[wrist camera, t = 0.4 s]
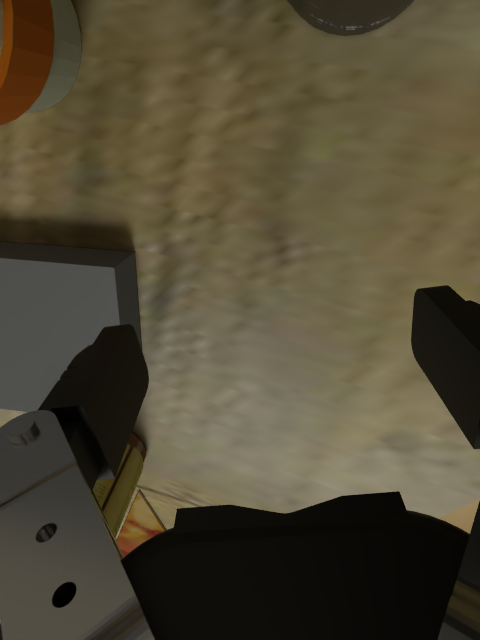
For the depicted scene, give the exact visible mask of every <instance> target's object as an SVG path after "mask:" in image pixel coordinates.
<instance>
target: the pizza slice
mask: <svg viewBox="0 0 480 640" xmlns="http://www.w3.org/2000/svg"><path fill="white" fill-rule="evenodd" d="M164 531H166V528H165V527H164V525H163V524H162V522H161V521H160V519H159V518H158V516H157V515H156V513H155V512H154V510H153V509H152V507H151V506H150V504H149V503H148V501H147V500H146V498H145V497H144V495H143V494H142V492H141V491H140V490H139V492H138V494H137V496H136V499H135V501H134V503H133V505H132V508H131V510H130V512H129V514H128V516H127V519H126V521H125V523H124V525H123V528H122V530H121V532H120V534H119V536H118V539H117V543H118V545H119V547H120V549H121V551H122V553H123V556H124V557H125V556H126V555H127V554H128V553H130V552H131V551H132V550H133V549H135V548H136V547H138V546H139V545H140V544H142V543H143V542H145V541H147V540H148V539H150V538H152V537H153V536H155V535H157V534H159V533H162V532H164Z"/></svg>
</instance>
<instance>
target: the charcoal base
mask: <svg viewBox="0 0 480 640" xmlns="http://www.w3.org/2000/svg"><path fill="white" fill-rule="evenodd" d="M124 324H131V325H132V326H133V327H134V329H135V332H136V335H137V338H138V341H139V344H140V347H141V350H142V344H141V330H140V316H139V303H138V289H137V275H136V261H135V252H127V251H114V250H102V249H90V248H77V247H65V246H53V245H41V244H28V243H16V242H4V241H0V409H9V410H17V411H25V412H32V411H37V410H38V409H39V407H40V406H41V404H42V403H43V401H44V400H45V398H46V397H47V396H48V394H49V393H50V391H51V390H52V388H53V387H54V385H55V384H56V383H57V381H58V380H60V377H61V375H62V374H63V373H64V371H65V370H67V367H68V365H69V364H70V362H71V361H72V360H73V358H74V357H75V356H76V355H77V354H78V353H80V352H81V351H82V350H83V349H85V348H86V347H87V346H88V345H92V344H93V343H94V341H95V340H96V338H97V337H98V335H99V334H100V332H101V331H102V329H103V328H104V327H108V326H116V325H124Z"/></svg>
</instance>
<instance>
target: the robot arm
mask: <svg viewBox="0 0 480 640" xmlns="http://www.w3.org/2000/svg"><path fill="white" fill-rule="evenodd" d="M288 1H289V3H290V4H291V5H292V6H293V8H294V9H295V10H296V11H297V13H298V14H299V15H300V16H301V17H302V18H303V19H304V20H306V21H307V22H308V23H309V24H311V25H312V26H313V27H315V28H318V29H320V30H322V31H324V32H327V33H330V34H336V35H342V36H348V35H358V34H363V33H366V32H369V31H372V30H375V29H378V28H380V27H381V26H383V25H385V24H386V23H388V22H390V21H391V20H393V19H395V18H396V17H397V16H398V15H399V14H400V13H401V12H402V11H404V10H405V9H406V8H407V7H408V6H409V5H410V4H411V3H412V2H413V1H414V0H288ZM411 344H412V350H413V354H414V357H415V359H416V361H417V362H418V364H419V365H420V367H421V368H422V370H423V372H424V373H425V375H426V376H427V378H428V379H429V381H430V382H431V384H432V385H433V387H434V389H435V390H436V392H437V393H438V395H439V396H440V398H441V399H442V401H443V402H444V404H445V405H446V407H447V409H448V410H449V412H450V413H451V415H452V416H453V418H454V419H455V421H456V422H457V424H458V425H459V427H460V429H461V430H462V432H463V433H464V435H465V436H466V438H467V439H468V441H469V442H470V444H471V445H472V447H473V449H480V304H478V303H475V302H473V301H471V300H470V301H465V300H464V299H463V298H462V297H460V296H459V295H458V294H457V293H456V292H455V291H454V290H453V289H452V288H451V287H449V286H447V285H445V286H437V287H429V288H421V289H417V290H416V292H415V296H414V306H413V320H412V334H411ZM148 382H149V376H148V369H147V365H146V362H145V359H144V356H143V353H142V350H141V347H140V344H139V341H138V338H137V335H136V332H135V329H134V327H133V326H132V325H131V324H124V325H116V326H108V327H104V328H103V329H102V331H101V332H100V334H99V335H98V337H97V338H96V340H95V341H94V343H93V344H92V345H88V346H87V347H86V348H85V349H83V350H82V351H81V352H80V353H78V354H77V355H76V356H75V357H74V358H73V360H72V361H71V362H70V364H69V365H68V367H67V370H65V371H64V373H63V374H62V375H61V377H60V380H58V381H57V383H56V384H55V385H54V387H53V388H52V390H51V391H50V393H49V394H48V396H47V397H46V398H45V400H44V401H43V403H42V404H41V406H40V407H39V409H38V410H37V411H32V412H28V413H25V414H22V415H20V416H18V417H16V418H14V419H12V420H11V421H9V422H7V423H6V424H5V425H3V426H2V427H1V428H0V622H1V629H2V637H3V640H480V502H479V505H478V509H477V512H476V515H475V519H474V522H473V526H472V529H471V533H470V534H468V533H467V532H465V531H464V530H462V529H460V528H458V527H456V526H454V525H452V524H450V523H448V522H445V521H443V520H440V519H437V518H435V517H432V516H429V515H425V514H422V513H418V512H414V511H408V510H406V508H405V505H404V502H403V500H402V497H401V495H400V492H386V493H373V494H360V495H348V496H341V497H338V498H335V499H332V500H329V501H326V502H322V503H319V504H316V505H313V506H310V507H307V508H304V509H301V510H298V511H295V512H292V513H285V514H284V513H276V512H270V511H264V510H258V509H252V508H246V507H240V506H235V505H219V506H206V507H193V508H181V509H177V513H176V518H175V524H174V528H171V529H168V530H166V531H164V532H162V533H159V534H157V535H155V536H153V537H152V538H150V539H148V540H147V541H145V542H143V543H142V544H140V545H139V546H138V547H136V548H135V549H133V550H132V551H131V552H130V553H128V554H127V555H126V556H125V557H124V556H123V553H122V551H121V549H120V547H119V545H118V543H117V541H116V538H115V536H114V534H113V532H112V530H111V528H110V526H109V523H108V521H107V519H106V517H105V515H104V513H103V511H102V508H101V506H100V504H99V502H98V500H97V498H96V496H95V494H94V492H93V488H94V486H95V483H96V481H97V480H105V479H115V477H116V475H117V472H118V469H119V466H120V463H121V461H122V458H123V455H124V452H125V450H126V447H127V444H128V441H129V438H130V436H131V433H132V430H133V427H134V425H135V422H136V419H137V416H138V413H139V411H140V408H141V405H142V402H143V399H144V397H145V394H146V391H147V388H148Z"/></svg>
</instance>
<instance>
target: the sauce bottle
mask: <svg viewBox="0 0 480 640" xmlns="http://www.w3.org/2000/svg"><path fill="white" fill-rule="evenodd" d="M145 457H146V449H145V448H144V445H143V444H142V442H141V441H140V440H139V438H138V437H137V436H136V435H135V434H133V433H131V436H130V438H129V441H128V444H127V447H126V450H125V452H124V455H123V458H122V461H121V463H120V466H119V469H118V472H117V475H116V477H115V479H105V480H97V481H96V483H95V486H94V488H93V492H94V494H95V496H96V498H97V500H98V502H99V504H100V506H101V508H102V511H103V513H104V515H105V517H106V519H107V521H108V523H109V526H110V528H111V530H112V532H113V534H114V536H115V538H116V535H117V533H118V531H119V528H120V526H121V523H122V521H123V518H124V515H125V513H126V510H127V508H128V505H129V503H130V500H131V498H132V495H133V493H134V490H135V488H136V485H137V483H138V480H139V478H140V475H141V473H142V470H143V462H144V460H145ZM0 640H3V637H2V629H1V623H0Z"/></svg>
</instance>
